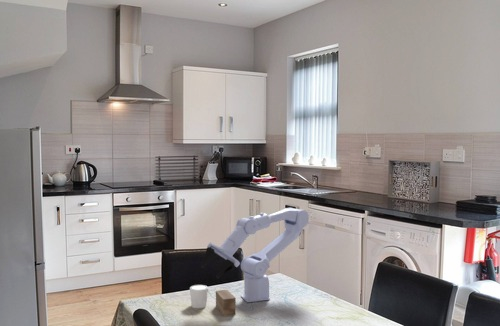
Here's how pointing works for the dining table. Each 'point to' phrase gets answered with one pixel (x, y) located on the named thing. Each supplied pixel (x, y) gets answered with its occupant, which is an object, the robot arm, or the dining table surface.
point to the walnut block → (225, 302)
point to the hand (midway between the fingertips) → (209, 271)
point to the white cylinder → (198, 296)
